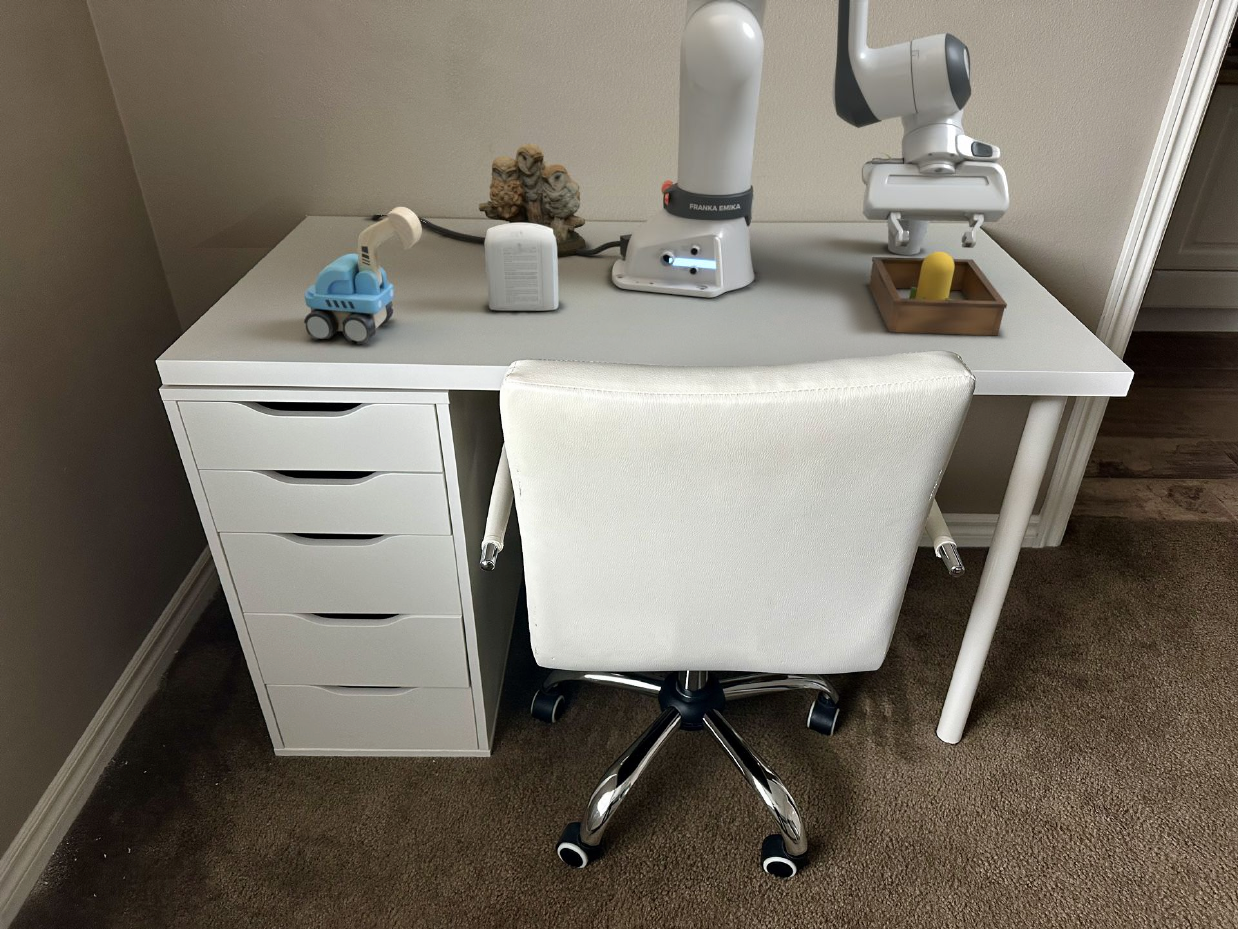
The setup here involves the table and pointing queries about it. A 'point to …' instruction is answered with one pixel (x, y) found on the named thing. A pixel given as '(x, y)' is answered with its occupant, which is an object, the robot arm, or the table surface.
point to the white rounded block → (521, 267)
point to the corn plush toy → (934, 277)
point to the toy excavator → (359, 283)
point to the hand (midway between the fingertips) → (935, 245)
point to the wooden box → (933, 314)
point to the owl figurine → (536, 196)
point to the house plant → (915, 236)
